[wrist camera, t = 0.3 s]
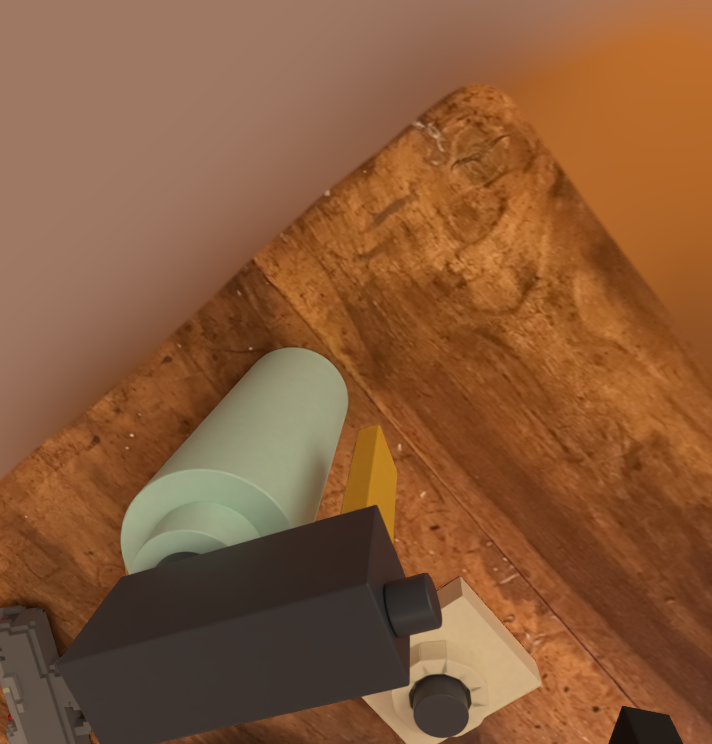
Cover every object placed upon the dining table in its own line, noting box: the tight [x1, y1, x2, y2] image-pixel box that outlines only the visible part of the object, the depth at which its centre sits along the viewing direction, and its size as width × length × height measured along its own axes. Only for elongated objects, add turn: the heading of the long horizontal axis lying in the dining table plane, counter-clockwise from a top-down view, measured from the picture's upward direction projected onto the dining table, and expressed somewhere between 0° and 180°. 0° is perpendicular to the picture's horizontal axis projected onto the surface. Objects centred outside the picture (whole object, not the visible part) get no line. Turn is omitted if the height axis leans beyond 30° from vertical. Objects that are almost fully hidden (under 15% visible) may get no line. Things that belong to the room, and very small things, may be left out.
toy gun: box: [0, 605, 93, 744], centre depth 48 cm, size 4×16×10 cm
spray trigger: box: [340, 425, 397, 543], centre depth 23 cm, size 1×2×8 cm, turn 20°
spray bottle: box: [56, 347, 442, 744], centre depth 28 cm, size 12×7×25 cm, turn 110°
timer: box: [362, 576, 542, 744], centre depth 43 cm, size 11×9×4 cm
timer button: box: [413, 675, 469, 738], centre depth 41 cm, size 4×4×2 cm
